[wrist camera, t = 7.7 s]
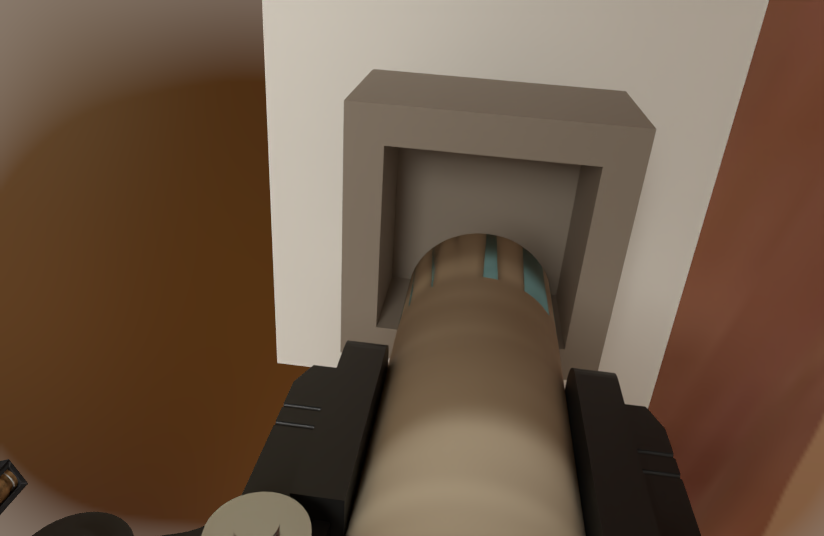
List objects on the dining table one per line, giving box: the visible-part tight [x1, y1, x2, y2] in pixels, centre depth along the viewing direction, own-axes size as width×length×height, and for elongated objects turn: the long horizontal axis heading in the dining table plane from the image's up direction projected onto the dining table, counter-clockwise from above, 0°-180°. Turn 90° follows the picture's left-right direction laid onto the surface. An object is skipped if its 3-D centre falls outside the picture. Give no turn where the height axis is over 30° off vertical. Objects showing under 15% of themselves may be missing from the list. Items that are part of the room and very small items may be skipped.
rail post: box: [345, 233, 586, 536], centre depth 9 cm, size 3×3×12 cm
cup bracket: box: [262, 0, 769, 409], centre depth 21 cm, size 20×16×9 cm
